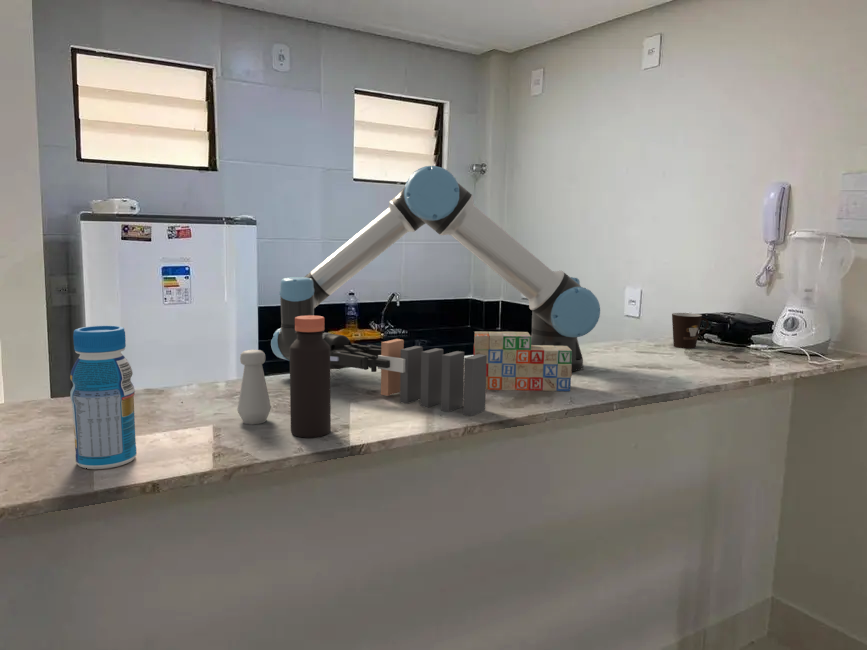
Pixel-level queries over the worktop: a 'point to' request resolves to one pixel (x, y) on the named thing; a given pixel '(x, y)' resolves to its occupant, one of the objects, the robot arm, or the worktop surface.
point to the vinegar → (310, 379)
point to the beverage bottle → (102, 399)
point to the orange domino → (389, 378)
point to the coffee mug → (686, 329)
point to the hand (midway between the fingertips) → (412, 363)
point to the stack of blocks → (523, 362)
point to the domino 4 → (474, 384)
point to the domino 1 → (411, 375)
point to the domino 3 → (452, 381)
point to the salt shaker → (253, 389)
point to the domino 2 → (431, 377)
